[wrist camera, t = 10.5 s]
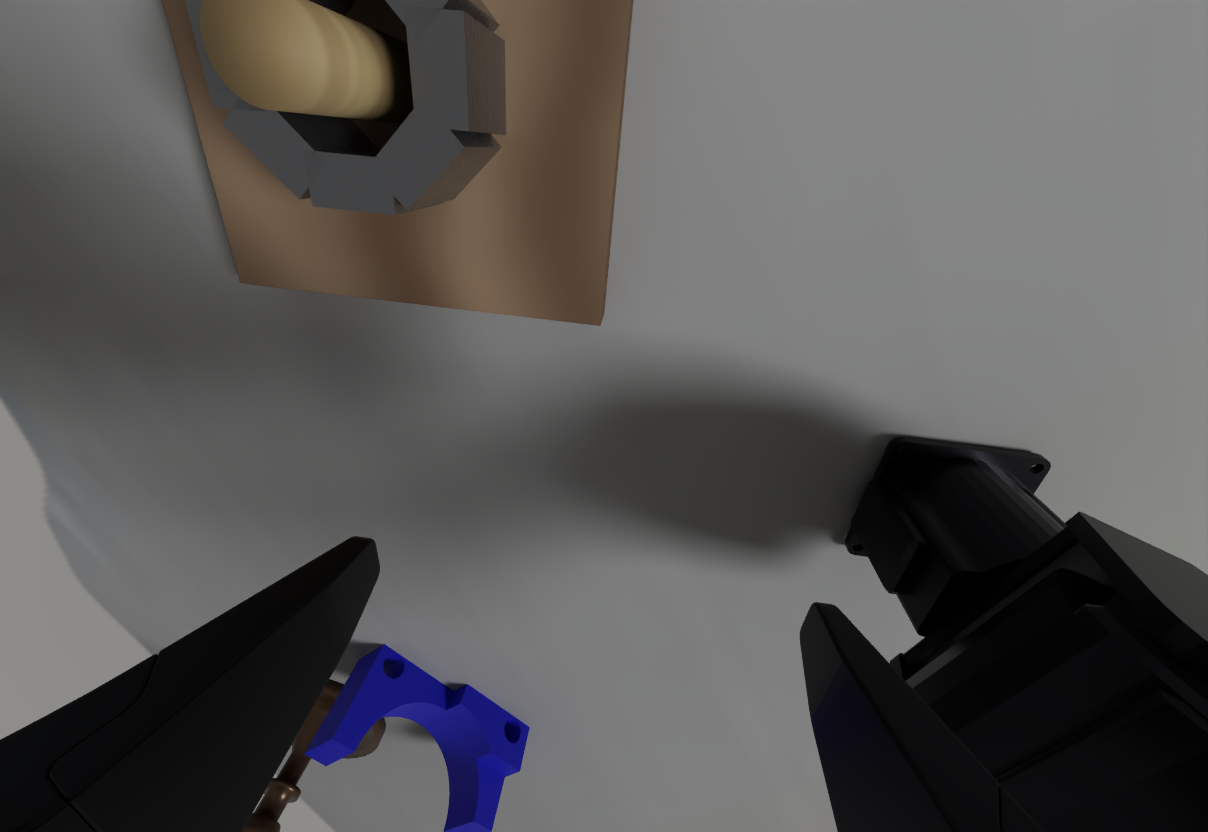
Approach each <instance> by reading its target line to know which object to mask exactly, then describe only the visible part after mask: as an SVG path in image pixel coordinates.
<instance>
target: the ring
mask: <svg viewBox="0 0 1208 832" xmlns="http://www.w3.org/2000/svg"><path fill="white" fill-rule="evenodd" d="M309 1H311V2H313V3H316V4H318V5H320V6H323V7H325V8H327V9H330V10H332V11H334V12H337V13H339V14H341V15H344V16H346V15H347V13H348V12H349V10H350V9H351V7H352V6H353V4H354V3H355V1H356V0H309ZM385 1H386V2H387V3H388V4H389V6H390V7H391V8H392V9H393V11H394V12H395V13H396V14H397V15H398V17H399V18H400V19H401V20H402V22H403V23H404V24H405V25H406V31H407V42H408V53H409V63H410V74H411V85H412V96H413V107H414V109H413V111H412V112H411V113H410V114H409V116H408V117H407V118H406V119H405V121H404V122H403V123H402V124H401V126H400V127H399V128H398V129H397V131H396V132H395V133H394V134H393V136H392V137H391V138H390V139H389V141H388V142H387V143H386V144H385V146H384V147H383V148H382V149H381V151H380V150H379V149H378V148H377V147H376V145H375V144H374V143H373V142H372V141H371V140H370V139H369V138H368V137H367V136H366V134H365V133H364V132H363V131H362V130H361V129H360V128H359V127H358V126H357V124H356V123H355V122H354V121H353V120H352V119H351V118H342V117H332V116H322V115H313V114H303V113H293V112H284V111H274V110H266V109H261V108H258V107H255V106H253V105H251V104H249V103H247V102H245V101H244V100H242V99H241V98H240V97H238V96H237V95H236V94H235V93H233V92H232V91H231V90H230V89H229V88H228V87H227V85H226V84H225V83H224V82H223V81H222V79H221V78H220V77H219V75H218V74H217V72H216V71H215V69H214V68H213V66H212V64H211V62H210V60H209V58H208V55H207V53H206V51H205V48H204V44H203V41H202V37H201V32H200V6H201V2H202V0H185V3H186V7H187V10H188V14H189V18H190V22H191V26H192V29H193V33H194V37H195V41H196V44H197V48H198V52H199V56H200V60H201V63H202V67H203V71H204V75H205V79H206V82H207V86H208V90H209V94H210V97H211V101H212V105H213V107H221V108H231V110H230V112H229V113H228V115H227V117H226V118H225V120H224V122H223V124H224V125H225V126H226V127H227V128H228V129H229V130H230V131H231V132H232V133H233V134H234V135H235V136H236V137H237V138H238V139H239V140H240V141H241V142H242V143H243V144H244V145H245V146H246V147H247V148H248V149H249V150H250V151H251V152H252V153H253V154H254V155H255V156H256V157H257V158H258V159H259V160H260V161H261V162H262V163H263V164H264V165H265V166H266V167H267V168H268V169H269V170H270V171H271V172H272V173H273V174H274V175H275V176H276V177H277V178H278V179H279V180H280V181H281V182H282V183H283V184H284V185H285V186H286V187H287V188H288V189H289V190H290V191H291V192H292V193H293V194H294V195H295V196H296V197H297V198H298V199H299V200H300V199H307V198H311V201H312V206H313V207H322V208H331V209H341V210H350V211H360V212H370V213H379V214H389V215H399V214H403V213H407V212H411V211H415V210H419V209H423V208H427V207H431V206H435V205H438V204H442V203H444V202H446V201H450V200H454V199H455V198H456V197H457V195H458V194H459V193H460V192H461V191H462V190H463V189H464V188H465V187H466V186H467V185H468V184H469V182H470V181H471V180H472V179H473V178H474V177H475V176H476V175H477V174H478V173H479V172H480V171H481V169H482V168H483V167H484V166H485V165H486V164H487V163H488V162H489V161H490V160H491V159H492V158H493V156H494V155H495V154H496V153H497V152H498V151H499V150H500V149H501V148H502V147H501V146H500V144H499V143H498V142H497V141H496V140H495V138H494V137H493V136H492V135H491V134H500V135H506V81H505V40H503V39H502V38H500V37H499V36H498V35H496V34H495V33H494V31H495V30H496V29H497V28H498V27H499V23H498V22H497V21H496V19H495V18H494V17H493V15H492V14H491V13H490V11H489V10H488V9H487V7H486V6H485V5H484V3H483V2H482V0H385Z"/></svg>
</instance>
